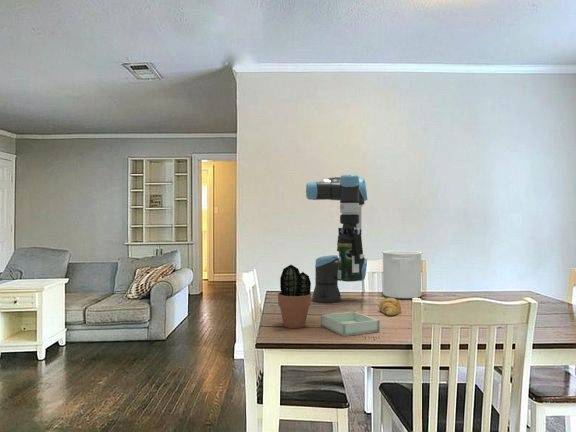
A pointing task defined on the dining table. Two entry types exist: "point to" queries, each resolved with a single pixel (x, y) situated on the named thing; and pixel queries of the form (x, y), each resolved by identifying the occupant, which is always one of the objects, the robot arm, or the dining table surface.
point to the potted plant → (294, 297)
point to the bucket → (402, 274)
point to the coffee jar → (347, 260)
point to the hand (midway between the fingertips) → (349, 270)
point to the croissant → (390, 306)
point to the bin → (349, 323)
